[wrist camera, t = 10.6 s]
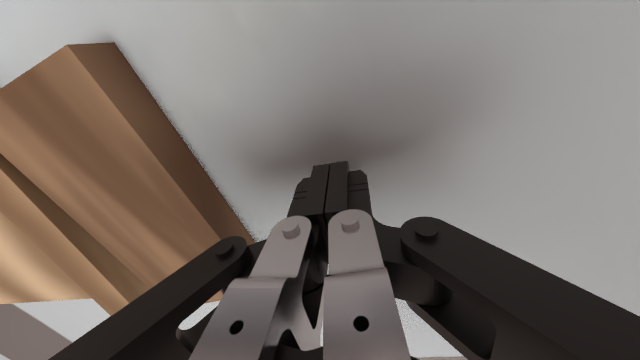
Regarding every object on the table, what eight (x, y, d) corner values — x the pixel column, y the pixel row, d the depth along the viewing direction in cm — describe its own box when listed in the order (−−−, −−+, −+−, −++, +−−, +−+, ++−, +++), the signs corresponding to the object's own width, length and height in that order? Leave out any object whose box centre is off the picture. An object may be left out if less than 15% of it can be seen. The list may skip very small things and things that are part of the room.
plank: (66, 44, 9) (-41, 116, 10) (262, 292, 15) (173, 309, 17) (122, 42, 11) (25, 101, 13) (273, 259, 17) (192, 277, 19)
